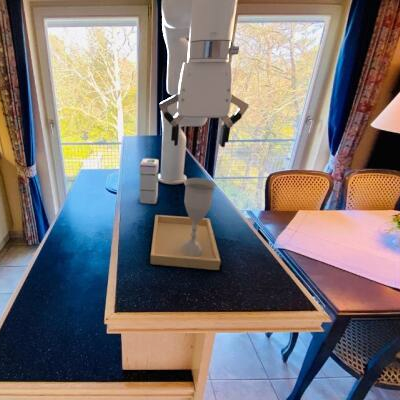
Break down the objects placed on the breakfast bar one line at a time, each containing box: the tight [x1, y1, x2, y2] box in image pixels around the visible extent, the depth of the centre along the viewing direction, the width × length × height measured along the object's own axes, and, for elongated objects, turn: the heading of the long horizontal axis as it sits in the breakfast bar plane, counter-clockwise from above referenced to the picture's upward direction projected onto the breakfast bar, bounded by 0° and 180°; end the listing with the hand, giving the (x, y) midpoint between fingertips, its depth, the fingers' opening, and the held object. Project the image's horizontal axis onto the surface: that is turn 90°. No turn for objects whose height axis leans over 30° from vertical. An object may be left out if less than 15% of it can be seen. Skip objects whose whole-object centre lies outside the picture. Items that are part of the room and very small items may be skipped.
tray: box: [150, 214, 221, 271], centre depth 69 cm, size 20×16×3 cm
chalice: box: [182, 177, 217, 257], centre depth 62 cm, size 7×7×18 cm
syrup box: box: [139, 158, 160, 205], centre depth 91 cm, size 6×6×14 cm
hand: (198, 144), depth 57 cm, fingers open, 9 cm apart
